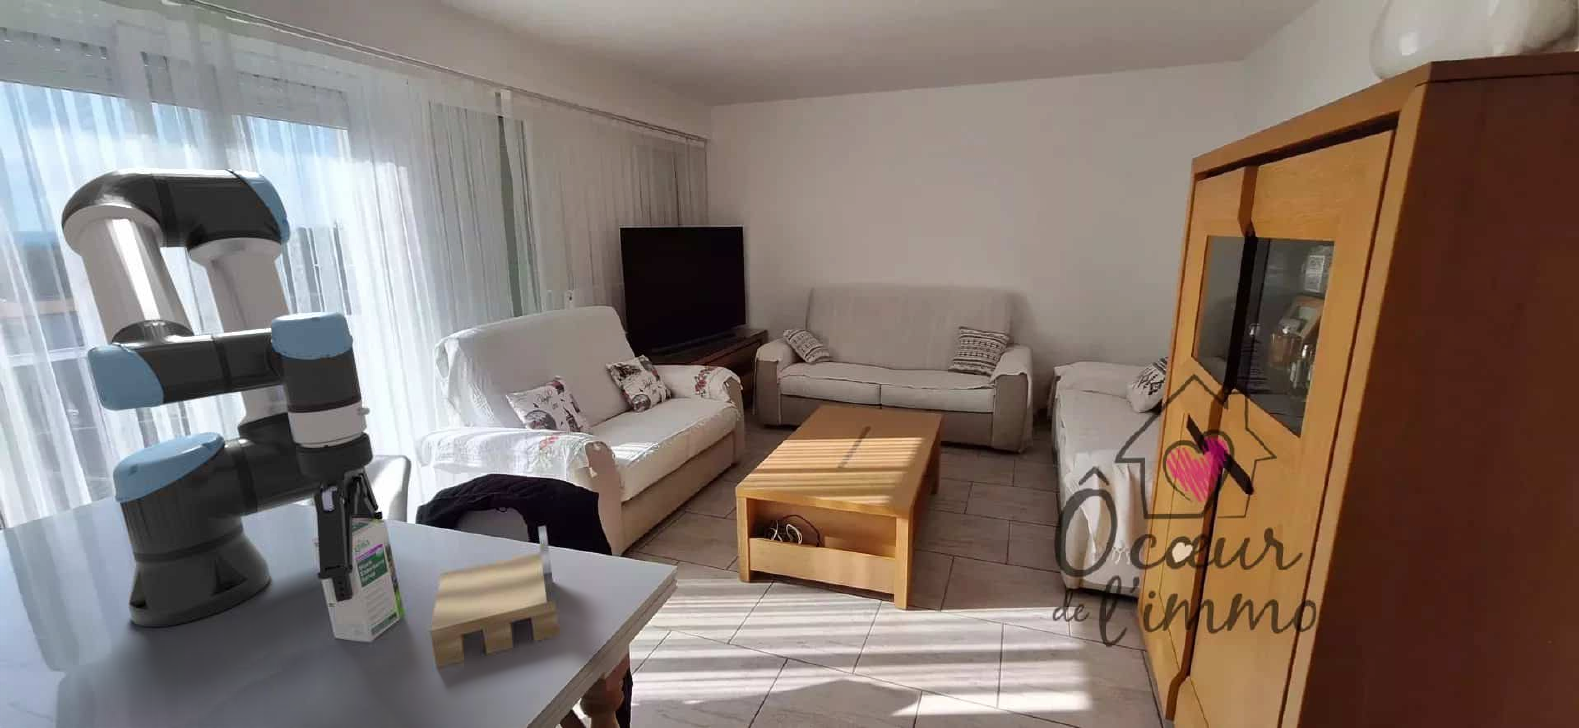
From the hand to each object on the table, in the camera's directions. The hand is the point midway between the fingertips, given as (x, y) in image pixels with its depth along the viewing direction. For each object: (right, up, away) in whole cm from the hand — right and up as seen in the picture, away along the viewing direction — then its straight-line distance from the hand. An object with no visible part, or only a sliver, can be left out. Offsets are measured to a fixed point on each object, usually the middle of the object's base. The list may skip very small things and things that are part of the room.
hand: (363, 592), depth 83 cm
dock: (+17, -4, +2) cm, 18 cm away
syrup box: (0, -5, +1) cm, 6 cm away
